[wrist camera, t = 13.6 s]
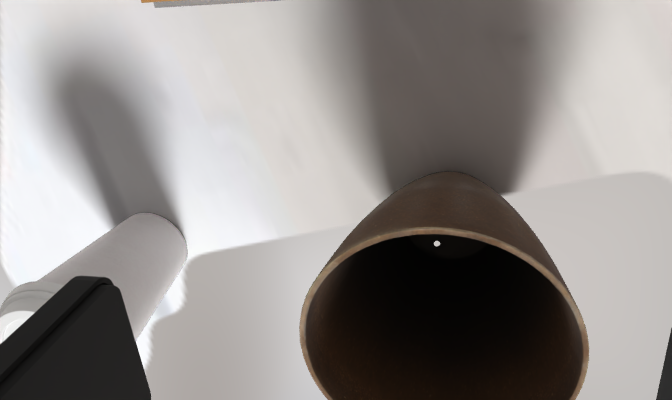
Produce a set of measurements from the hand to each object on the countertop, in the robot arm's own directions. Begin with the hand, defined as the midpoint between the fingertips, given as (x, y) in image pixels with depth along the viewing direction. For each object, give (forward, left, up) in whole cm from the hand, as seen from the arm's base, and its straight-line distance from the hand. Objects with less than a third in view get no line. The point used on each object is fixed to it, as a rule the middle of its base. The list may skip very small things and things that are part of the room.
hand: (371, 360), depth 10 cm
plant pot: (0, +14, -32) cm, 35 cm away
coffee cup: (+26, +18, -32) cm, 45 cm away
